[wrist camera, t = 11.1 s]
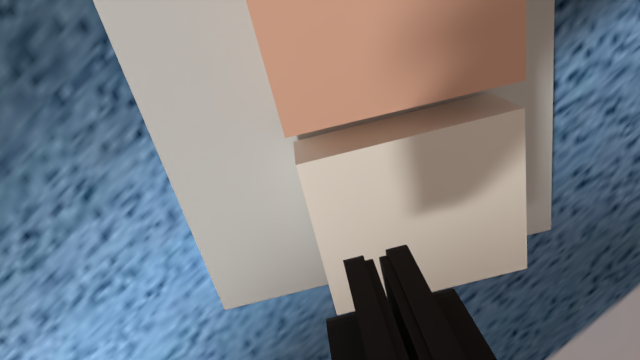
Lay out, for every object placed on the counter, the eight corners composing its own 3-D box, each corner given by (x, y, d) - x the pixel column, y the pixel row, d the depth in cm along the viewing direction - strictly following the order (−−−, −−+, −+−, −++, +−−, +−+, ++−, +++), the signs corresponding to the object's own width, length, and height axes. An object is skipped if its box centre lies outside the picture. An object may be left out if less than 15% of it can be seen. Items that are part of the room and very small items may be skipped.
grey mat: (545, 224, 17) (551, 229, 17) (225, 303, 17) (224, 309, 17) (548, -191, 11) (557, -198, 11) (69, -69, 12) (62, -71, 11)
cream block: (329, 274, 17) (494, 233, 17) (336, 315, 15) (527, 268, 15) (292, 139, 14) (487, 91, 14) (295, 165, 12) (524, 108, 12)
